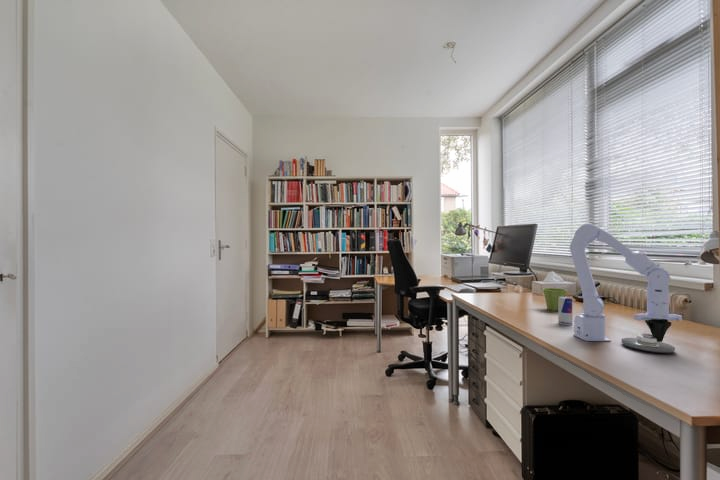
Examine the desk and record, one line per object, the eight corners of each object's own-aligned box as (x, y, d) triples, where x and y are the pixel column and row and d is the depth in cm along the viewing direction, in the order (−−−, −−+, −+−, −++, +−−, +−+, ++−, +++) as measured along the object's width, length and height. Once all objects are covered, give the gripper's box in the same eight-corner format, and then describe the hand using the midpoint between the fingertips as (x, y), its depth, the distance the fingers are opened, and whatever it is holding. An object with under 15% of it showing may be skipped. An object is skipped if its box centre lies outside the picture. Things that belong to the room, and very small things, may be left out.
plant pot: (567, 309, 179) (567, 288, 179) (567, 313, 169) (567, 291, 169) (542, 306, 185) (542, 287, 185) (541, 310, 175) (541, 289, 175)
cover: (645, 345, 111) (645, 336, 111) (633, 341, 116) (633, 332, 116) (661, 346, 111) (661, 336, 111) (648, 341, 116) (648, 332, 116)
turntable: (642, 354, 107) (642, 350, 107) (611, 341, 121) (611, 337, 121) (687, 355, 106) (687, 350, 106) (650, 342, 120) (650, 338, 120)
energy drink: (572, 326, 143) (572, 298, 143) (558, 324, 146) (558, 297, 146) (572, 323, 148) (572, 297, 148) (558, 321, 150) (558, 296, 150)
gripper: (645, 304, 110) (645, 344, 110) (690, 304, 109) (690, 344, 109) (629, 300, 117) (629, 338, 117) (671, 300, 116) (671, 338, 116)
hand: (657, 341), depth 113 cm, fingers closed
